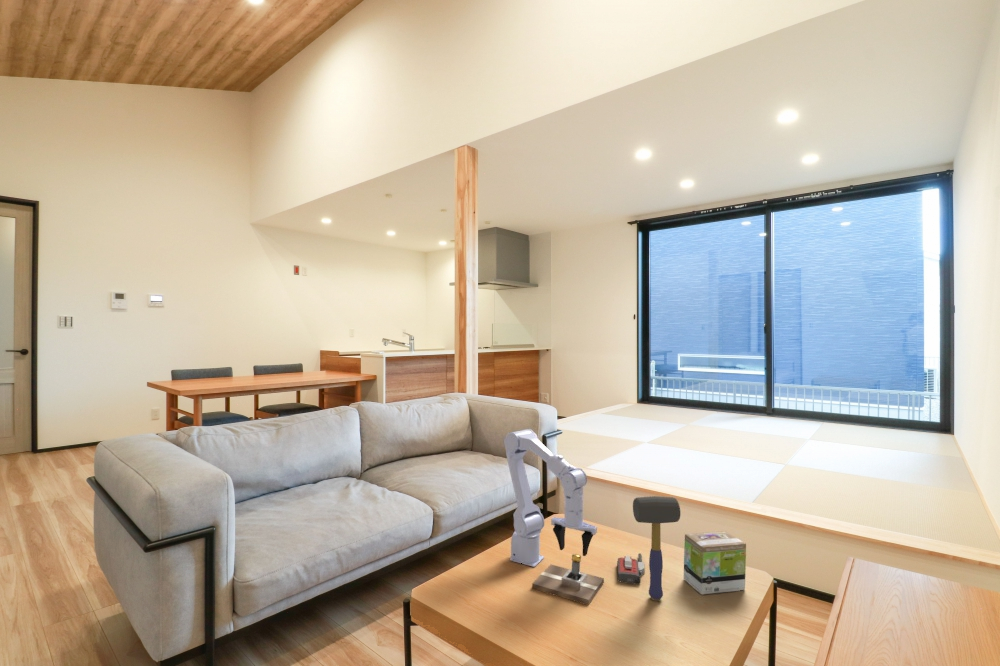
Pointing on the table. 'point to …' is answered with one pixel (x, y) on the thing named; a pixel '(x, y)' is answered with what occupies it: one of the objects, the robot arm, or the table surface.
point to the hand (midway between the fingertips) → (573, 551)
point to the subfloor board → (553, 584)
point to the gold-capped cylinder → (575, 566)
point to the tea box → (714, 562)
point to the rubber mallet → (656, 533)
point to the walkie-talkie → (630, 569)
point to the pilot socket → (574, 583)
